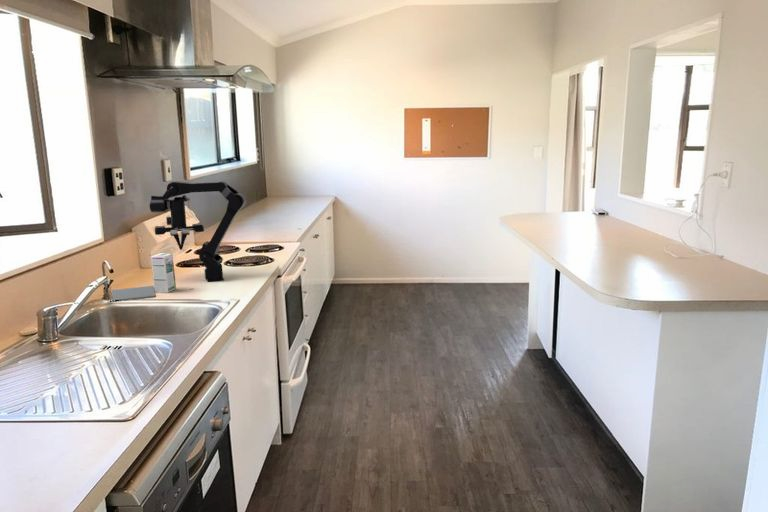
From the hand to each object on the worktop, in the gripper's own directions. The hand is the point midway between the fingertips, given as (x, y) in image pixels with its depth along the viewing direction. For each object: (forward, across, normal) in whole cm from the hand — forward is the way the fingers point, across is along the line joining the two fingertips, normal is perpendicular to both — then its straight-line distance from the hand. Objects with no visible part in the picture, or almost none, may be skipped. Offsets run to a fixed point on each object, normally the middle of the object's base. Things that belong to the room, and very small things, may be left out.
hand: (181, 249), depth 230 cm
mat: (+13, +20, +15) cm, 28 cm away
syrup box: (+13, +8, +15) cm, 22 cm away
